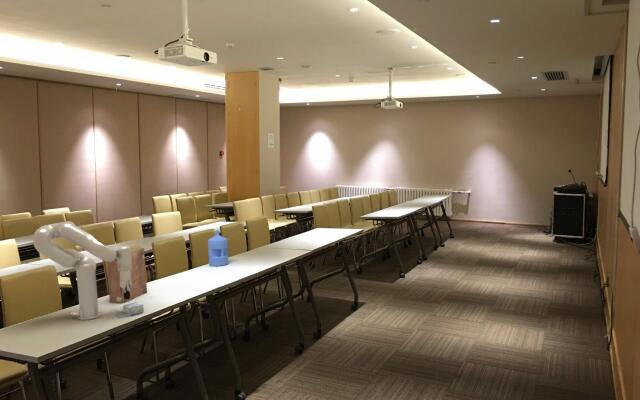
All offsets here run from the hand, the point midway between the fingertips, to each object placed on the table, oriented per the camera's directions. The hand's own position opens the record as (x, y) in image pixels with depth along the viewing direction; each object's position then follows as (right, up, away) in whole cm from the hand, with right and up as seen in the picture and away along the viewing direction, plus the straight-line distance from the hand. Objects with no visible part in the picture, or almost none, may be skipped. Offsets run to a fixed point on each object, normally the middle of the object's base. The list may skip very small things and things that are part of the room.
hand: (127, 298), depth 299 cm
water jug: (+29, +4, +124) cm, 127 cm away
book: (-10, -5, +32) cm, 34 cm away
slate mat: (+2, -8, -5) cm, 10 cm away
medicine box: (+1, -5, 0) cm, 5 cm away
